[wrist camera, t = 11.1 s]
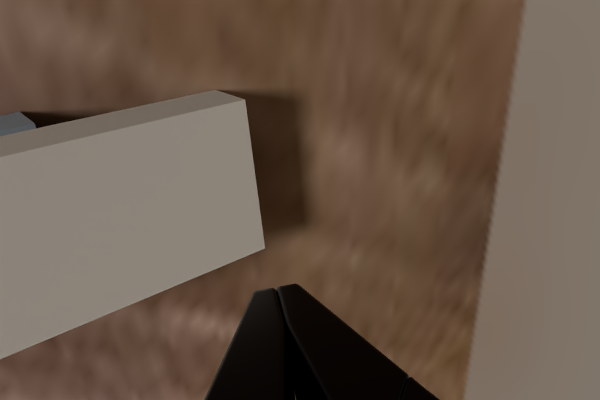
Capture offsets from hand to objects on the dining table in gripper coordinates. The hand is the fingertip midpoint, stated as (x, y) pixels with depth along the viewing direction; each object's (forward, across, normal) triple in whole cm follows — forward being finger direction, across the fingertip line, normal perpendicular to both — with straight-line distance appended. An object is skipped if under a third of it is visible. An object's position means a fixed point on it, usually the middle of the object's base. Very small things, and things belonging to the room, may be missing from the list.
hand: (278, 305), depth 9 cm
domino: (+7, 0, 0) cm, 7 cm away
